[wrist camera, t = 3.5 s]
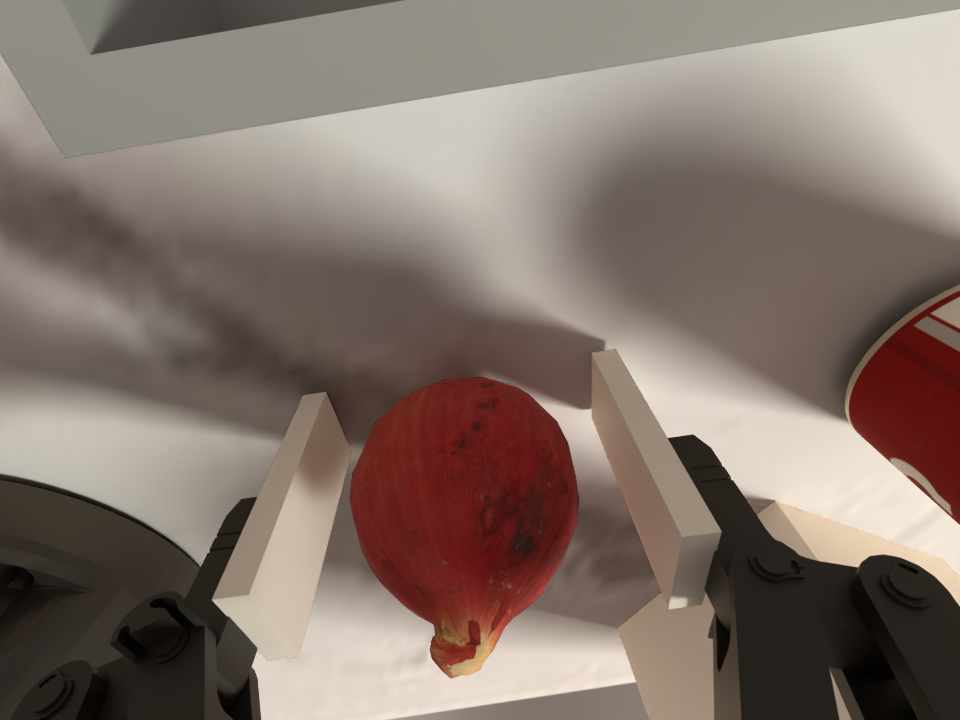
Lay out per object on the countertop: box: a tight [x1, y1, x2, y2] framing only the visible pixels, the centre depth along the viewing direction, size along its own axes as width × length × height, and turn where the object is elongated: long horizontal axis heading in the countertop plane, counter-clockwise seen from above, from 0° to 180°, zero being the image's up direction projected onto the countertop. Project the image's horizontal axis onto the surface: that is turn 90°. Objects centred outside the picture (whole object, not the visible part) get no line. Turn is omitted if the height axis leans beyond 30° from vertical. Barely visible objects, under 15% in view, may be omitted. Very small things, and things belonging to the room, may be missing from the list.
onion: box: [350, 377, 579, 679], centre depth 12 cm, size 6×6×8 cm
